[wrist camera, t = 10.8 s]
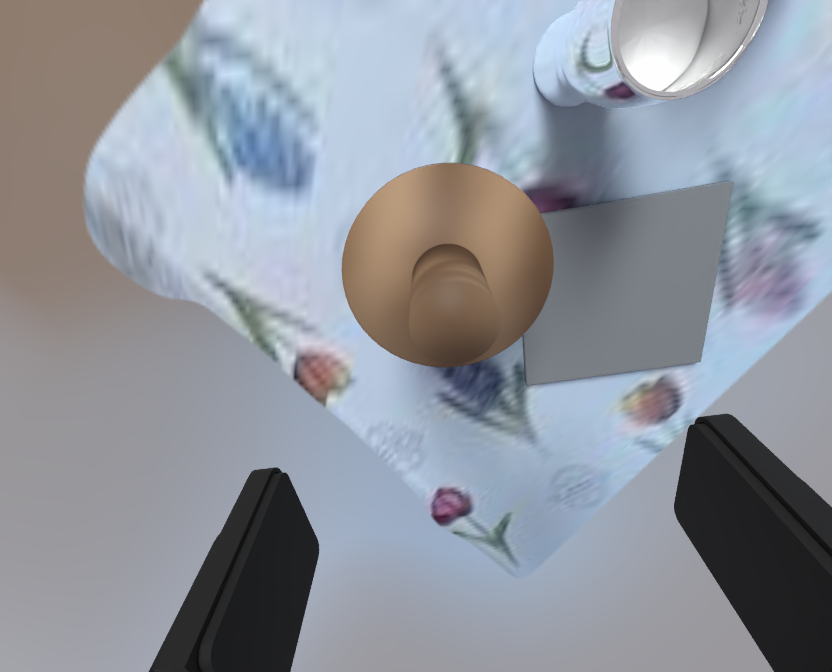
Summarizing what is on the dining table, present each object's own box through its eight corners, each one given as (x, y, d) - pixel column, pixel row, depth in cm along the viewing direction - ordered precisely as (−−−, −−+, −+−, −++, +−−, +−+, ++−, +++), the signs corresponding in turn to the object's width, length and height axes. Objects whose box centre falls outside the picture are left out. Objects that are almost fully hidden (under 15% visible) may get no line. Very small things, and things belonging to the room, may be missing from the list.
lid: (544, 140, 20) (598, 148, 14) (552, 343, 26) (592, 413, 20) (319, 187, 21) (277, 212, 15) (372, 371, 27) (356, 444, 21)
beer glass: (597, 122, 32) (718, 120, 19) (514, 102, 32) (580, 86, 18) (636, 16, 29) (816, -75, 16) (545, -9, 28) (653, -125, 15)
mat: (727, 180, 34) (733, 182, 33) (695, 358, 42) (700, 362, 42) (515, 217, 36) (517, 219, 35) (525, 381, 44) (527, 385, 43)
